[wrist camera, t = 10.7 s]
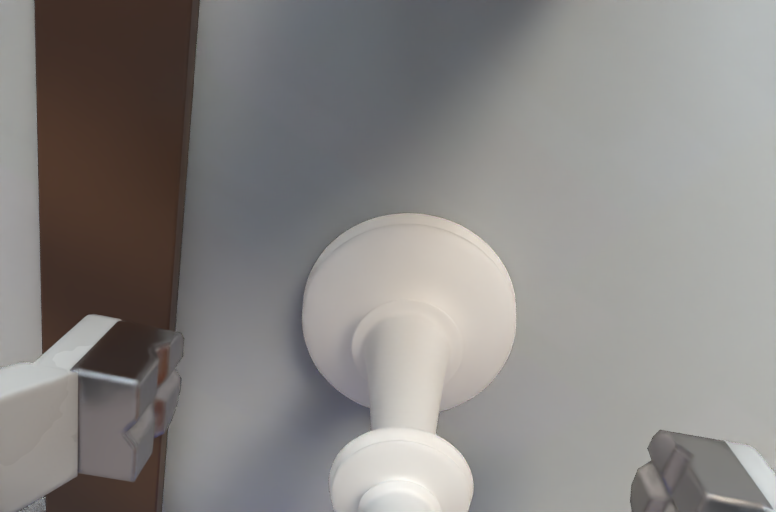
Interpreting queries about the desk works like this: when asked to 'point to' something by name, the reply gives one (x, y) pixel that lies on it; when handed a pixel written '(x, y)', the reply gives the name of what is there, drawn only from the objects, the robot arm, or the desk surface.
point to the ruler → (112, 185)
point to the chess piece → (407, 353)
